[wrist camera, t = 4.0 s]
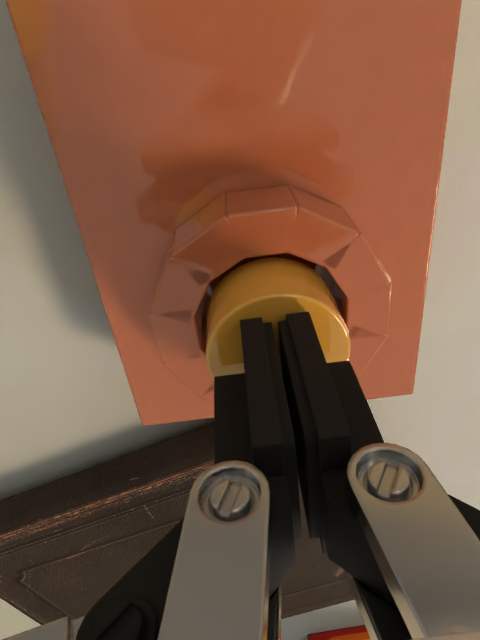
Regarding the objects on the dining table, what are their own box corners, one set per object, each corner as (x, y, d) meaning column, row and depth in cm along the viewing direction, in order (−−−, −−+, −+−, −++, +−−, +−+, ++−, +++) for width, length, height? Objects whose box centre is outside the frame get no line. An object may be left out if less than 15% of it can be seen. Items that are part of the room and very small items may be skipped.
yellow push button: (197, 265, 12) (194, 304, 10) (333, 248, 12) (353, 285, 10) (216, 370, 14) (216, 419, 12) (333, 356, 14) (350, 403, 12)
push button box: (47, -38, 13) (-61, -79, 8) (404, -87, 13) (532, -164, 8) (154, 357, 20) (135, 466, 15) (378, 330, 20) (433, 431, 15)
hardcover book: (417, 543, 29) (431, 579, 27) (109, 630, 34) (103, 667, 32) (345, 367, 21) (358, 401, 19) (-49, 511, 25) (-71, 551, 23)
